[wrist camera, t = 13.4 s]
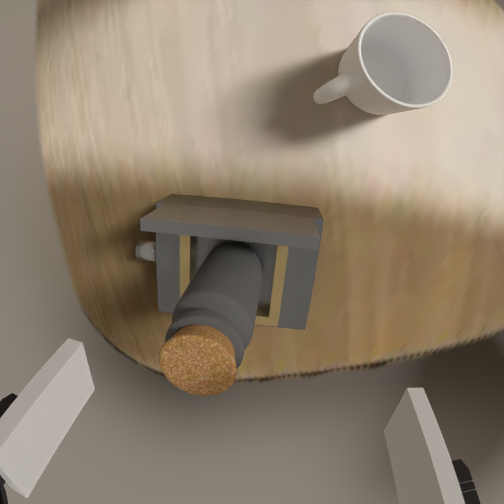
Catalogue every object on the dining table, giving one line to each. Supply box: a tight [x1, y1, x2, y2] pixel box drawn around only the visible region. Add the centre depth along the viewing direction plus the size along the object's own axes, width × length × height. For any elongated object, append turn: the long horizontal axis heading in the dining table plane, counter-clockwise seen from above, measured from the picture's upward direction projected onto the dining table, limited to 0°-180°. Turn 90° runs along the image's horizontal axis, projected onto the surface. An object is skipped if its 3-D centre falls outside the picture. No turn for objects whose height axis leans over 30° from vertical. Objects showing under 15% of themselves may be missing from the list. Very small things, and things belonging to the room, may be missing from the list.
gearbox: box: [135, 194, 324, 330], centre depth 32 cm, size 12×19×11 cm, turn 85°
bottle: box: [159, 243, 262, 396], centre depth 25 cm, size 6×6×15 cm
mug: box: [313, 12, 452, 115], centre depth 24 cm, size 12×8×10 cm
